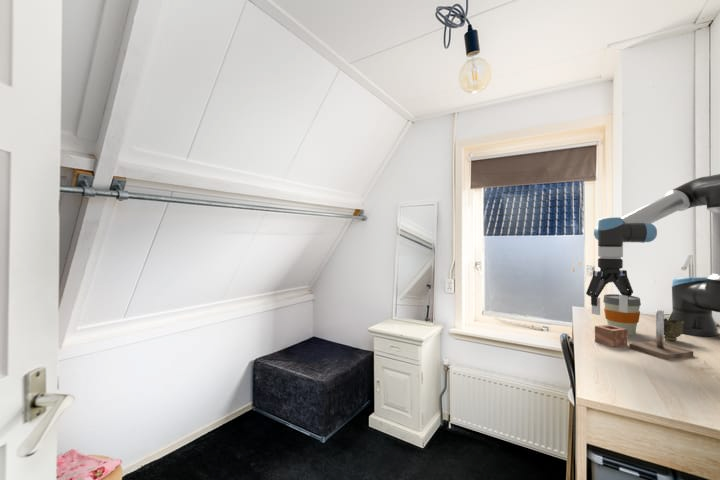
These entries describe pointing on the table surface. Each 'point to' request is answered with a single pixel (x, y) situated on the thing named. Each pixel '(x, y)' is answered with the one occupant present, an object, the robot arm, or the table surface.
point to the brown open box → (611, 335)
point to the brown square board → (661, 350)
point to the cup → (672, 329)
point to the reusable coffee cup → (622, 318)
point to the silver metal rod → (659, 329)
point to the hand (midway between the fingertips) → (609, 313)
